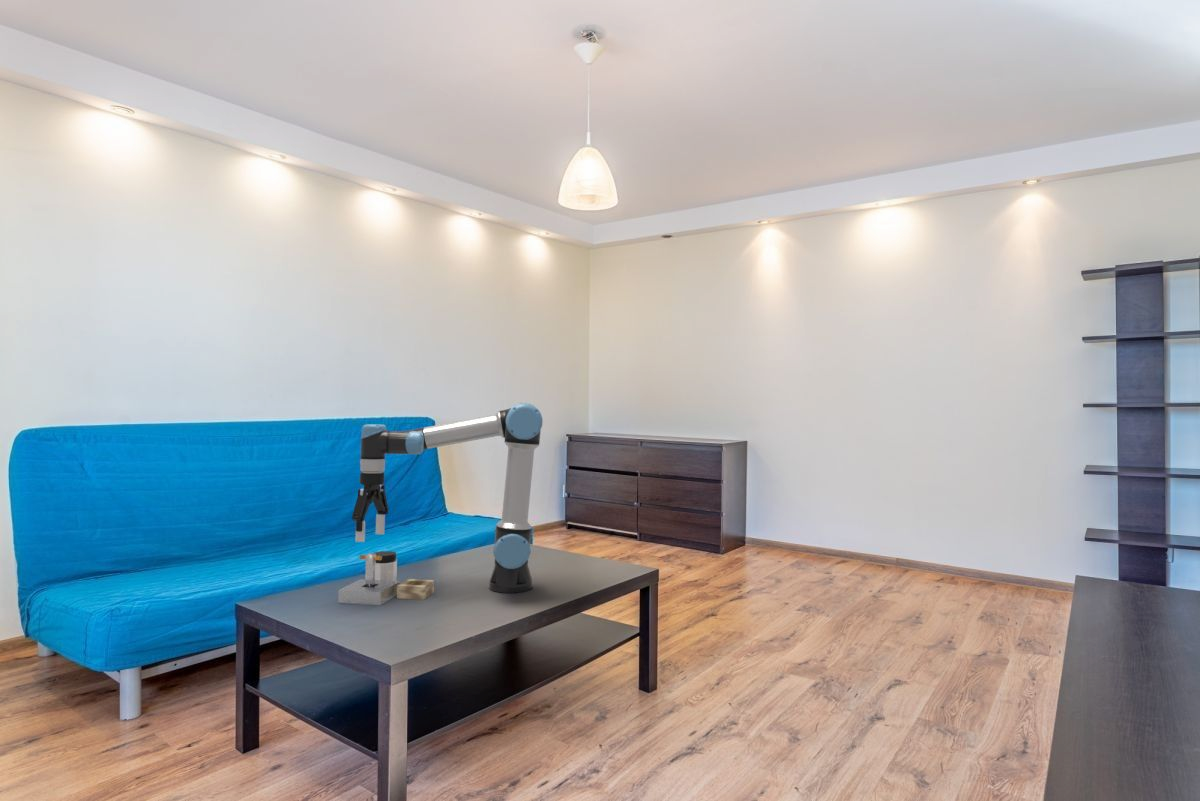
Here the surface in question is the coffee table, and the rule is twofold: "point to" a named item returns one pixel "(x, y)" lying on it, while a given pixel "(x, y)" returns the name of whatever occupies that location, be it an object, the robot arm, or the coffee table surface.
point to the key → (370, 568)
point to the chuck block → (368, 592)
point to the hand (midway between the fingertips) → (370, 537)
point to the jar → (386, 566)
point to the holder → (415, 589)
